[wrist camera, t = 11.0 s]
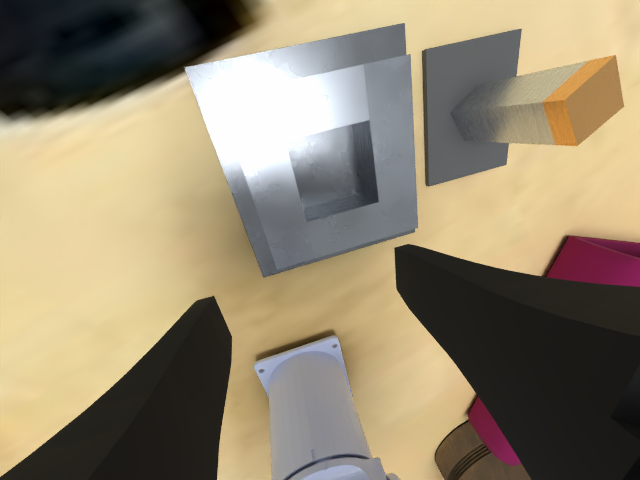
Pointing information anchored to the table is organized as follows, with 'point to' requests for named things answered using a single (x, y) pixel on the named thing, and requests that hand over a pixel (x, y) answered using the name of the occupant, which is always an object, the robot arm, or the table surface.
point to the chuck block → (315, 144)
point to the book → (576, 265)
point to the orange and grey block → (543, 105)
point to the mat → (449, 90)
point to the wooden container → (473, 459)
